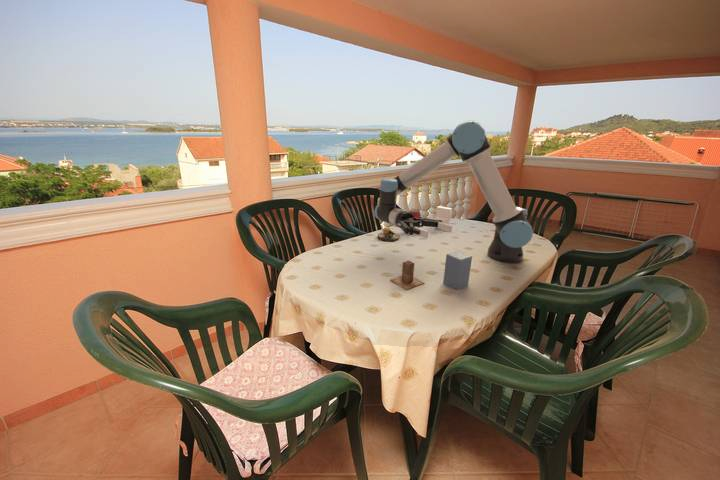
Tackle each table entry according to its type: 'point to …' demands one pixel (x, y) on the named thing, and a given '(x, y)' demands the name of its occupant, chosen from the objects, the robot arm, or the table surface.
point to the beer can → (416, 214)
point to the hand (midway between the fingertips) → (439, 232)
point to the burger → (388, 235)
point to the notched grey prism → (457, 269)
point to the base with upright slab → (443, 214)
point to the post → (407, 277)
